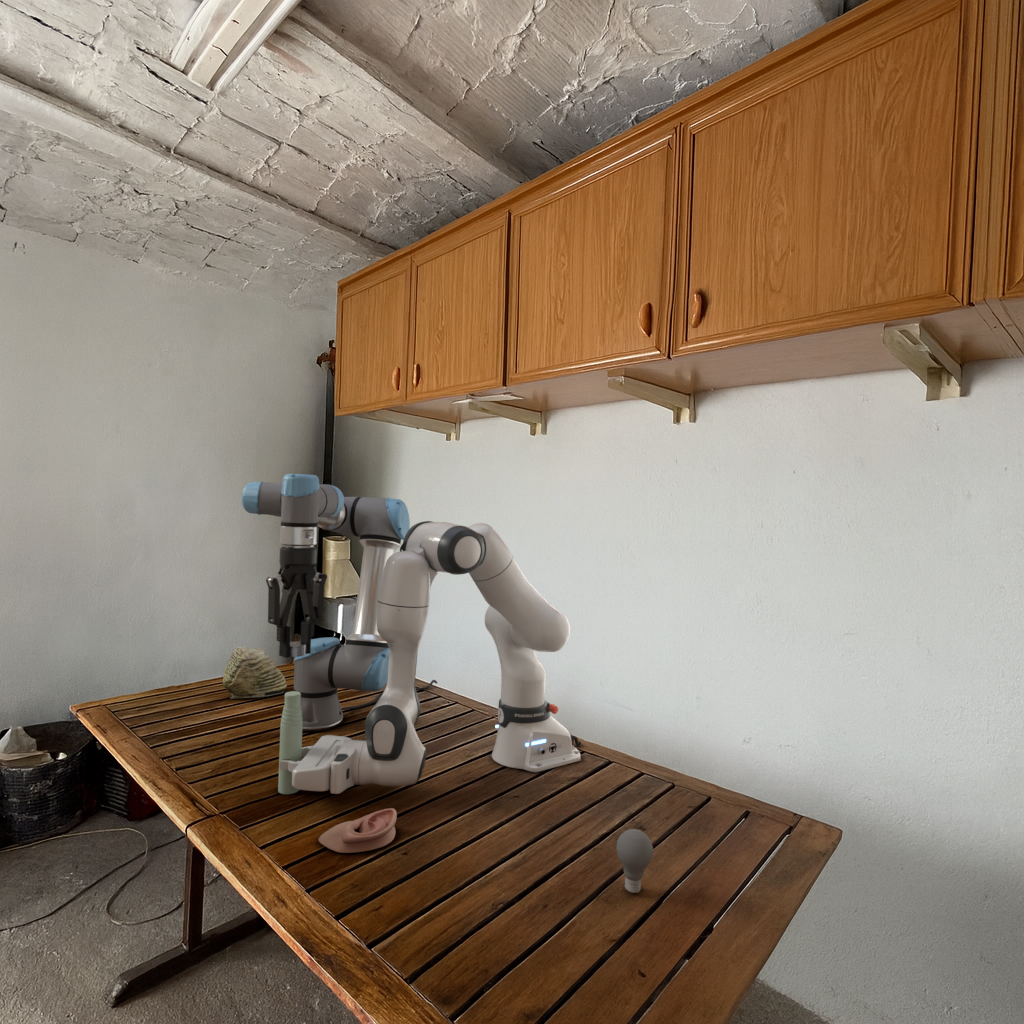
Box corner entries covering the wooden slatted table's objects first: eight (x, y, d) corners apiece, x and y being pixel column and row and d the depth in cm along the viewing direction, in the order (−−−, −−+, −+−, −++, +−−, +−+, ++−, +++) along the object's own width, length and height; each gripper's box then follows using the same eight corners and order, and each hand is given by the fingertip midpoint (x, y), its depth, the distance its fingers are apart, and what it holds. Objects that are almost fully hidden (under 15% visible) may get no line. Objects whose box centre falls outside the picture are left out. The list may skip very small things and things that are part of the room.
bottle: (304, 789, 137) (307, 693, 136) (285, 796, 133) (288, 698, 133) (293, 783, 140) (296, 688, 139) (274, 789, 136) (277, 693, 136)
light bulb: (610, 879, 108) (613, 822, 108) (644, 879, 109) (647, 822, 109) (619, 902, 102) (622, 840, 102) (655, 901, 103) (658, 840, 103)
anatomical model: (310, 826, 114) (340, 797, 125) (309, 848, 114) (339, 817, 125) (379, 837, 111) (403, 806, 122) (378, 859, 111) (403, 827, 123)
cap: (280, 653, 136) (280, 643, 136) (300, 650, 139) (300, 640, 139) (289, 658, 133) (290, 647, 133) (309, 654, 136) (310, 644, 136)
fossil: (218, 695, 195) (220, 647, 195) (278, 685, 208) (279, 640, 207) (228, 703, 189) (230, 653, 188) (289, 692, 201) (290, 645, 201)
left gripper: (270, 549, 126) (266, 665, 127) (343, 546, 140) (339, 650, 141) (250, 546, 131) (247, 658, 132) (323, 543, 145) (319, 644, 145)
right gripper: (362, 729, 146) (303, 726, 147) (336, 766, 126) (267, 763, 126) (361, 756, 146) (302, 753, 147) (335, 798, 126) (266, 794, 126)
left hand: (294, 654), depth 136 cm, fingers closed on cap, 4 cm apart
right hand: (286, 758), depth 136 cm, fingers closed on bottle, 4 cm apart
